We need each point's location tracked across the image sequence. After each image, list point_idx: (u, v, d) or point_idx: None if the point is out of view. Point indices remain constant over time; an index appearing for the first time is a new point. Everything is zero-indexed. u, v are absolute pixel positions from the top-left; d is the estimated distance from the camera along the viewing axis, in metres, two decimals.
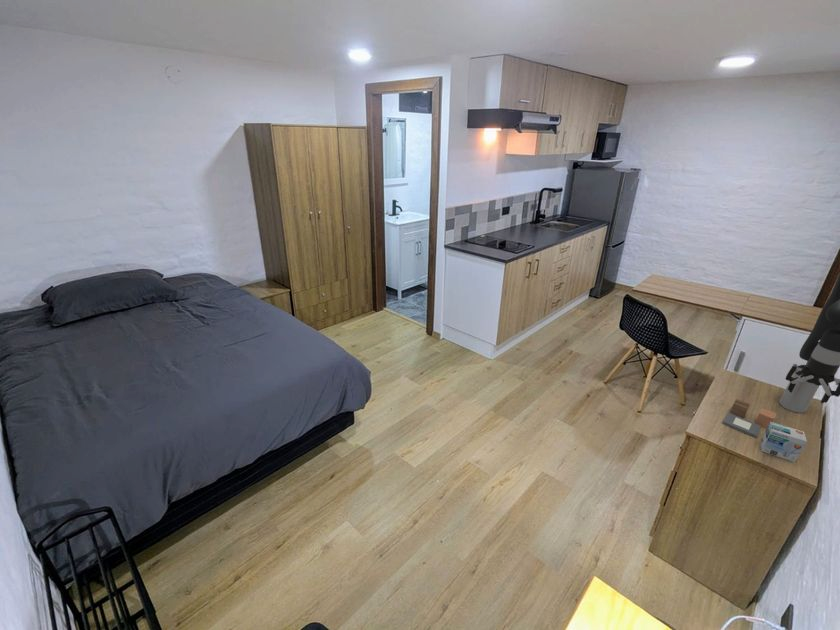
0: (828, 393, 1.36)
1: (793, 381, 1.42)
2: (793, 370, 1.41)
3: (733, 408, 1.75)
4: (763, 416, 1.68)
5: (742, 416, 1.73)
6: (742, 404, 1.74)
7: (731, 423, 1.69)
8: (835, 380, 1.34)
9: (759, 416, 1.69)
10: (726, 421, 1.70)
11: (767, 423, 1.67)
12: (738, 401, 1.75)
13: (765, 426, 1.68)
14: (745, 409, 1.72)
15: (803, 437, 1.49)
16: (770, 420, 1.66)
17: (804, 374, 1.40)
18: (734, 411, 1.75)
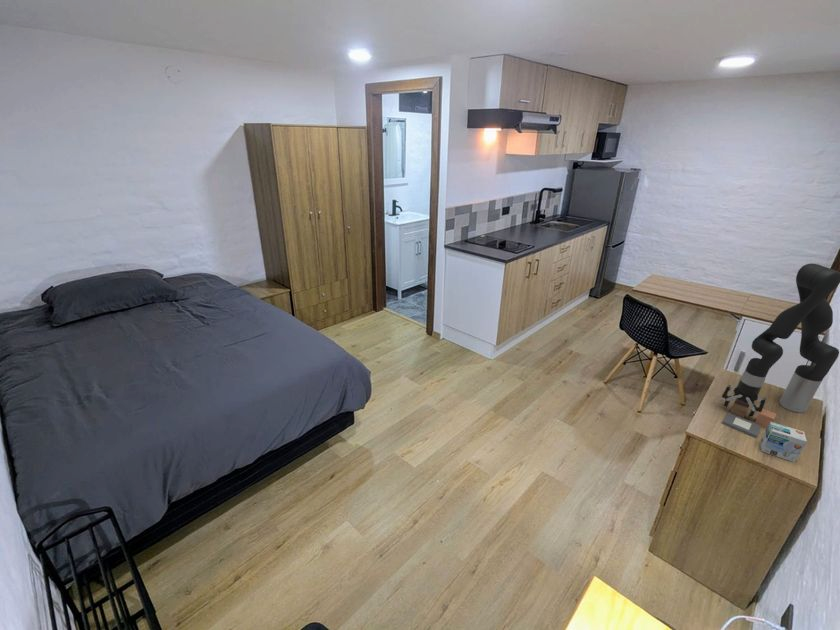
0: (753, 409, 1.70)
1: (727, 398, 1.76)
2: (727, 390, 1.75)
3: (733, 408, 1.75)
4: (763, 416, 1.67)
5: (742, 416, 1.73)
6: (742, 404, 1.74)
7: (731, 423, 1.69)
8: (758, 399, 1.68)
9: (759, 416, 1.68)
10: (726, 421, 1.70)
11: (767, 424, 1.67)
12: (738, 401, 1.75)
13: (765, 426, 1.68)
14: (745, 409, 1.72)
15: (803, 437, 1.49)
16: (770, 420, 1.66)
17: (735, 393, 1.74)
18: (734, 411, 1.75)
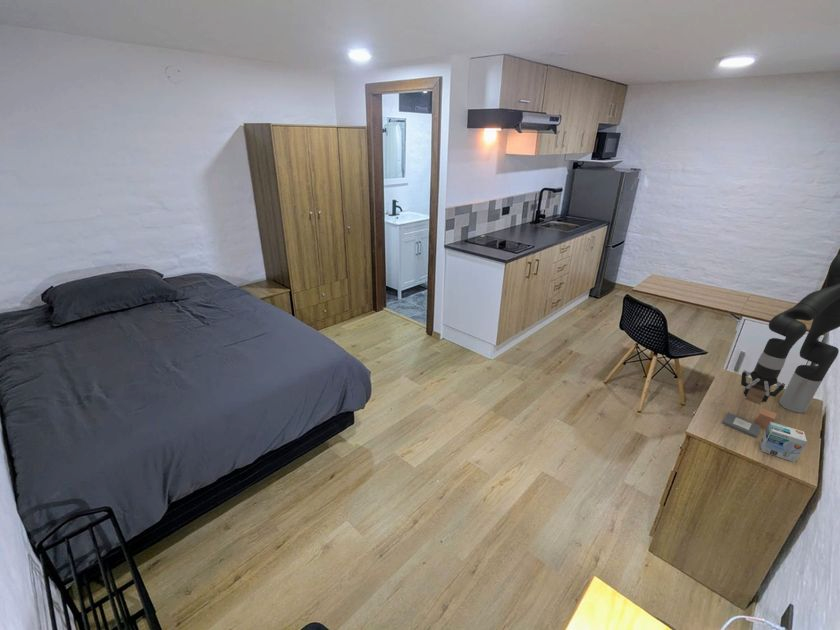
0: (767, 394, 1.59)
1: (747, 386, 1.63)
2: (744, 376, 1.63)
3: (749, 393, 1.62)
4: (763, 416, 1.67)
5: (759, 401, 1.60)
6: (759, 388, 1.61)
7: (731, 423, 1.69)
8: (777, 383, 1.56)
9: (759, 416, 1.68)
10: (726, 421, 1.70)
11: (767, 424, 1.67)
12: (754, 385, 1.62)
13: (765, 426, 1.68)
14: (763, 393, 1.58)
15: (803, 437, 1.49)
16: (770, 420, 1.66)
17: (752, 378, 1.61)
18: (750, 396, 1.62)
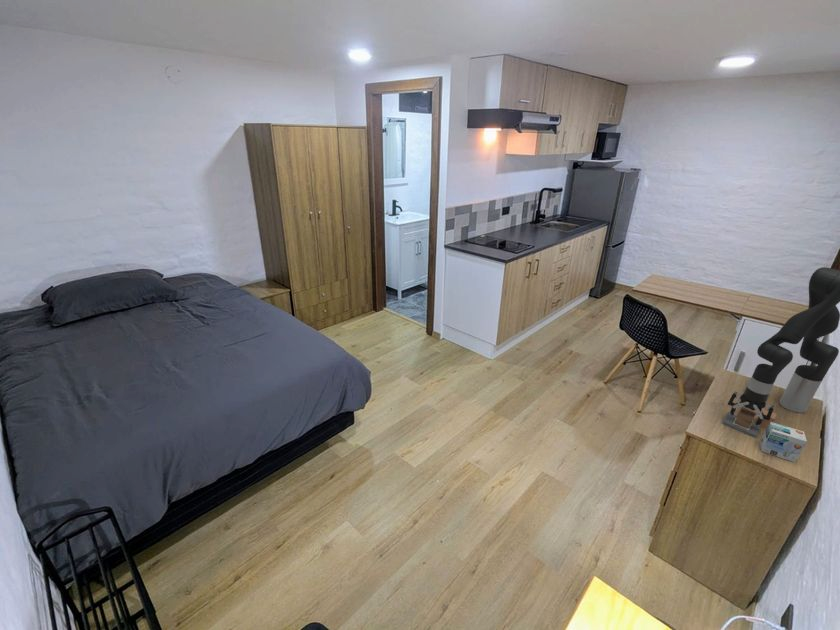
0: (761, 417, 1.62)
1: (734, 406, 1.69)
2: (733, 397, 1.68)
3: (738, 417, 1.67)
4: None
5: (748, 426, 1.66)
6: (747, 413, 1.66)
7: (731, 423, 1.69)
8: (766, 406, 1.61)
9: None
10: (726, 421, 1.70)
11: (767, 424, 1.67)
12: (743, 410, 1.68)
13: (765, 426, 1.68)
14: (751, 418, 1.64)
15: (803, 437, 1.49)
16: (770, 420, 1.66)
17: (742, 400, 1.66)
18: (739, 420, 1.67)
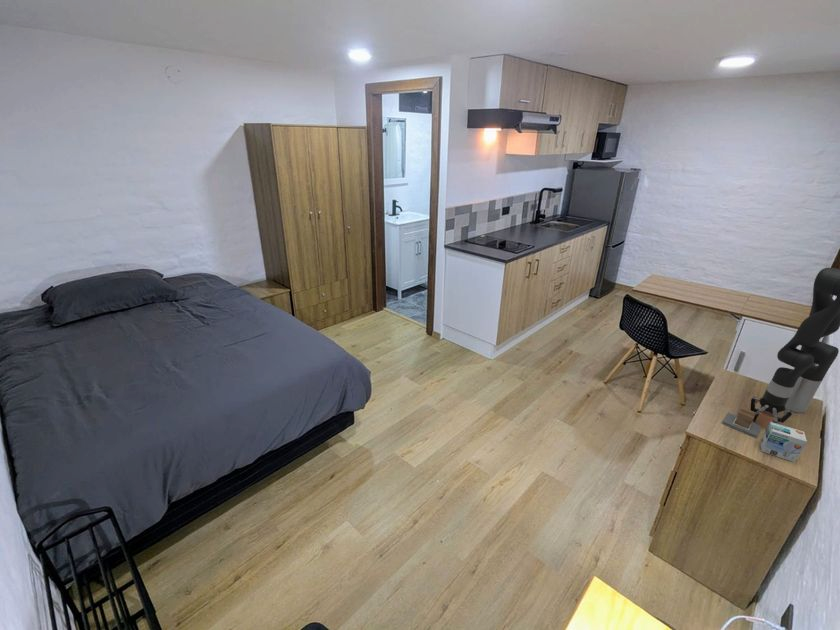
0: (775, 420, 1.66)
1: (756, 412, 1.70)
2: (753, 402, 1.70)
3: (738, 417, 1.67)
4: (763, 416, 1.67)
5: (748, 426, 1.66)
6: (747, 413, 1.66)
7: (731, 423, 1.69)
8: (785, 410, 1.63)
9: (759, 416, 1.69)
10: (726, 421, 1.70)
11: (767, 423, 1.67)
12: (743, 410, 1.68)
13: (765, 426, 1.68)
14: (751, 418, 1.64)
15: (803, 437, 1.49)
16: (770, 420, 1.66)
17: (761, 405, 1.68)
18: (739, 420, 1.67)
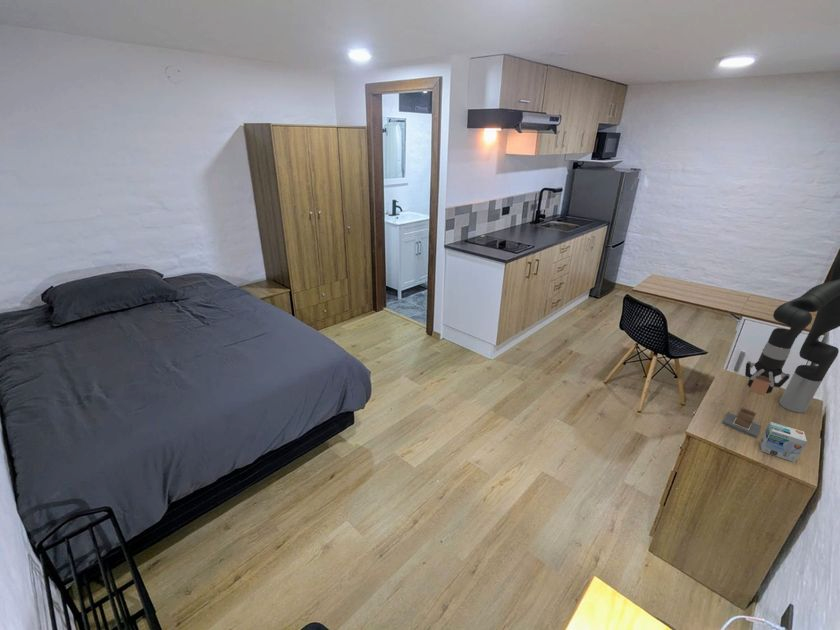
0: (771, 384, 1.57)
1: (751, 377, 1.61)
2: (748, 367, 1.61)
3: (738, 417, 1.67)
4: (759, 381, 1.58)
5: (748, 426, 1.66)
6: (747, 413, 1.66)
7: (731, 423, 1.69)
8: (782, 374, 1.54)
9: (754, 381, 1.59)
10: (726, 421, 1.70)
11: (762, 389, 1.58)
12: (743, 410, 1.68)
13: (761, 392, 1.59)
14: (751, 418, 1.64)
15: (803, 437, 1.49)
16: (766, 385, 1.57)
17: (757, 369, 1.59)
18: (739, 420, 1.67)
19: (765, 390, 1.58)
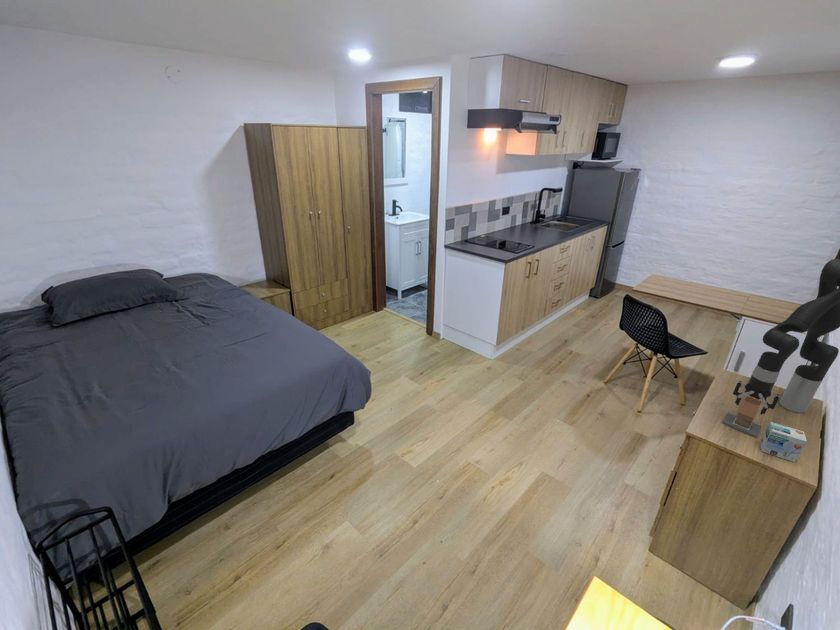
0: (765, 406, 1.60)
1: (739, 396, 1.66)
2: (738, 386, 1.65)
3: (738, 417, 1.67)
4: (748, 404, 1.63)
5: (748, 426, 1.66)
6: None
7: (731, 423, 1.69)
8: (771, 395, 1.58)
9: (744, 404, 1.64)
10: (726, 421, 1.70)
11: (752, 411, 1.63)
12: None
13: (750, 414, 1.64)
14: (751, 418, 1.64)
15: (803, 437, 1.49)
16: (755, 408, 1.62)
17: (747, 389, 1.63)
18: (739, 420, 1.67)
19: (754, 412, 1.63)
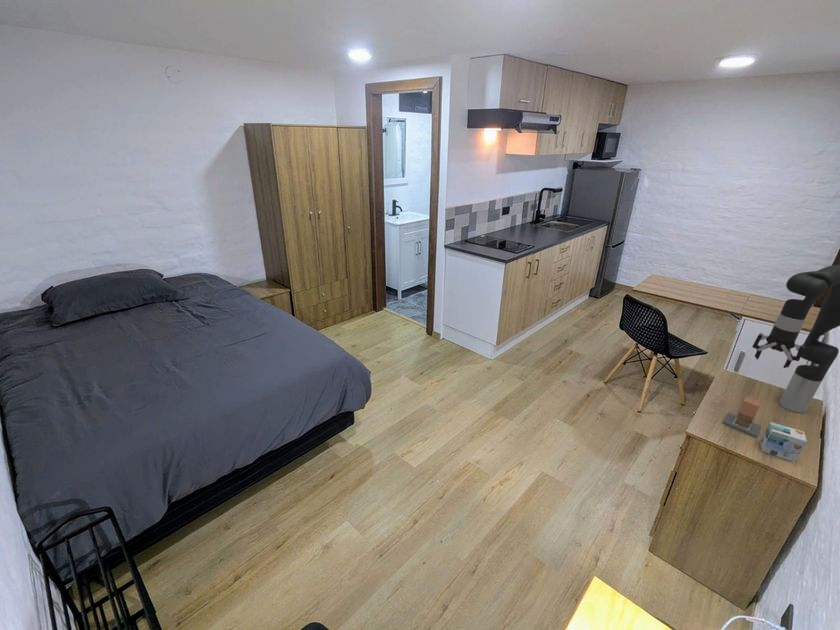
0: (789, 358, 1.50)
1: (759, 348, 1.56)
2: (759, 338, 1.55)
3: (738, 417, 1.67)
4: (748, 404, 1.63)
5: (748, 426, 1.66)
6: None
7: (731, 423, 1.69)
8: (795, 346, 1.48)
9: (744, 404, 1.64)
10: (726, 421, 1.70)
11: (752, 411, 1.63)
12: None
13: (750, 414, 1.64)
14: (751, 418, 1.64)
15: (803, 437, 1.49)
16: (755, 408, 1.62)
17: (768, 342, 1.53)
18: (739, 420, 1.67)
19: (754, 412, 1.63)
